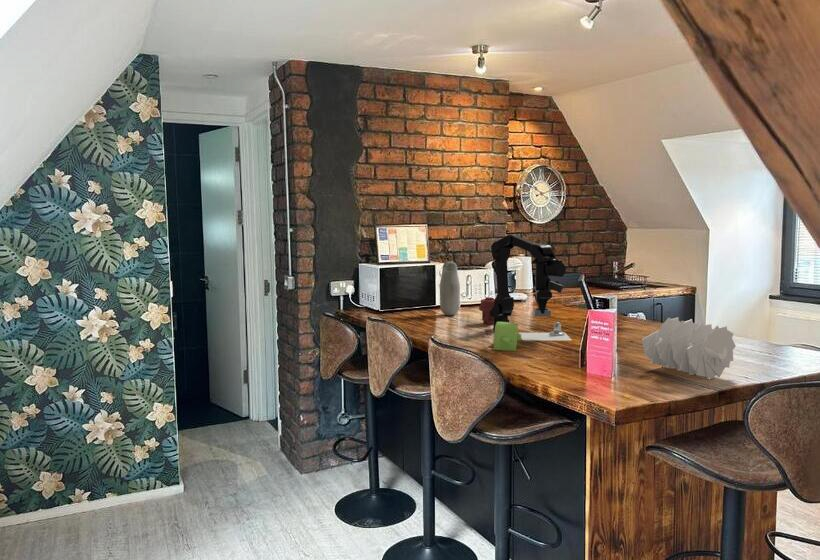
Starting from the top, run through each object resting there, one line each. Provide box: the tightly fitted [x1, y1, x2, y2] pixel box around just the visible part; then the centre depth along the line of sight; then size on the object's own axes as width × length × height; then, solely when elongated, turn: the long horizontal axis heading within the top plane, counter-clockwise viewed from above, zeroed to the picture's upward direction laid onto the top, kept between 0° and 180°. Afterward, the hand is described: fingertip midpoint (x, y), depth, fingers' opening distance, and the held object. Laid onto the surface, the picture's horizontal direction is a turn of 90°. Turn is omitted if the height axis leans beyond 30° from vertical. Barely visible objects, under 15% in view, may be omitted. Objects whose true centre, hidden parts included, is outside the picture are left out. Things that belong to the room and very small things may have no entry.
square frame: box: [532, 307, 552, 318], centre depth 271 cm, size 7×7×2 cm
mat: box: [518, 332, 573, 342], centre depth 273 cm, size 20×17×1 cm
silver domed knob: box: [549, 321, 566, 336], centre depth 277 cm, size 6×6×5 cm
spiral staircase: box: [641, 317, 737, 380], centre depth 210 cm, size 18×18×25 cm
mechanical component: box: [478, 296, 495, 326], centre depth 309 cm, size 12×10×10 cm
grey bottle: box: [439, 260, 461, 317], centre depth 334 cm, size 10×10×28 cm
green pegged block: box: [493, 321, 522, 352], centre depth 252 cm, size 18×10×10 cm, turn 168°
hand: (541, 312), depth 271 cm, fingers closed on square frame, 7 cm apart
